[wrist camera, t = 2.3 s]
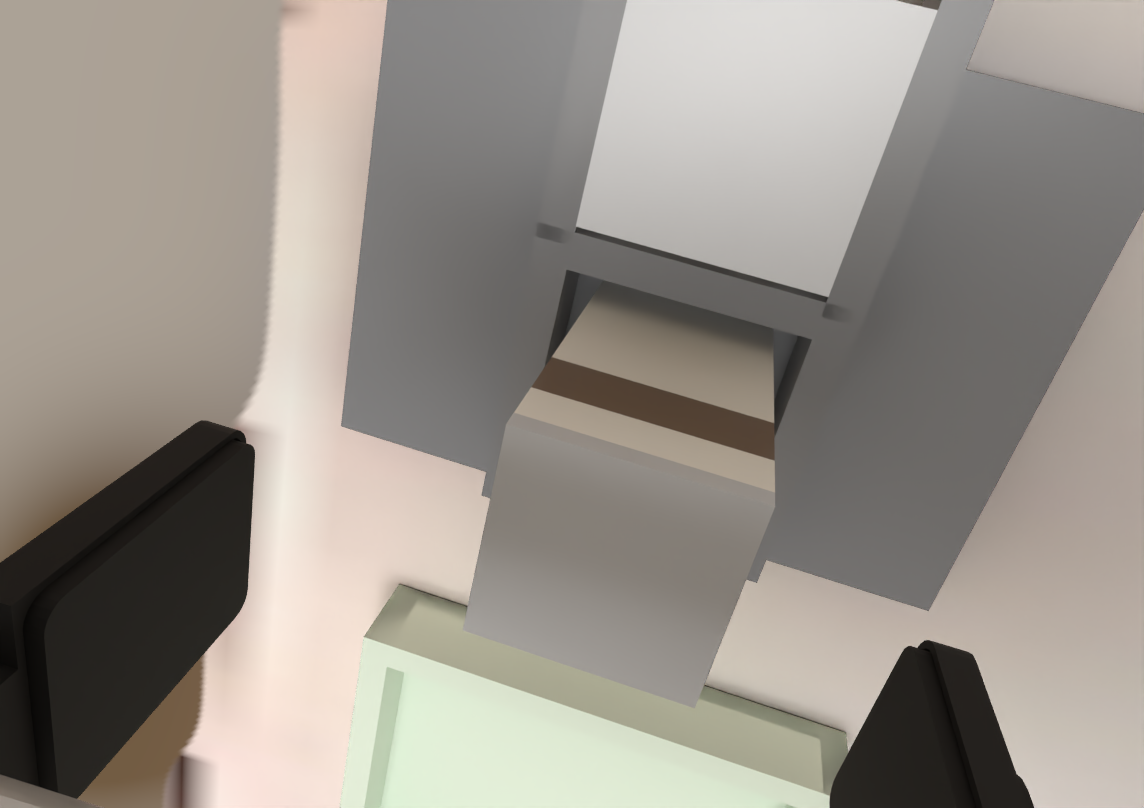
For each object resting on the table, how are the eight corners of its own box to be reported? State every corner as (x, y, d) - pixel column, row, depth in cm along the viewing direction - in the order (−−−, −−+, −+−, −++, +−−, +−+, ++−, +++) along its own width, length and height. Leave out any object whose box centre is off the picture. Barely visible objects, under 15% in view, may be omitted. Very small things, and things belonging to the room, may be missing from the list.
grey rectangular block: (773, 327, 19) (774, 505, 12) (720, 474, 20) (695, 708, 13) (604, 279, 19) (506, 423, 12) (567, 427, 21) (462, 630, 14)
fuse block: (1220, 16, 16) (1508, 4, 9) (921, 587, 22) (981, 801, 16) (426, -170, 17) (237, -282, 11) (357, 411, 23) (212, 543, 17)
